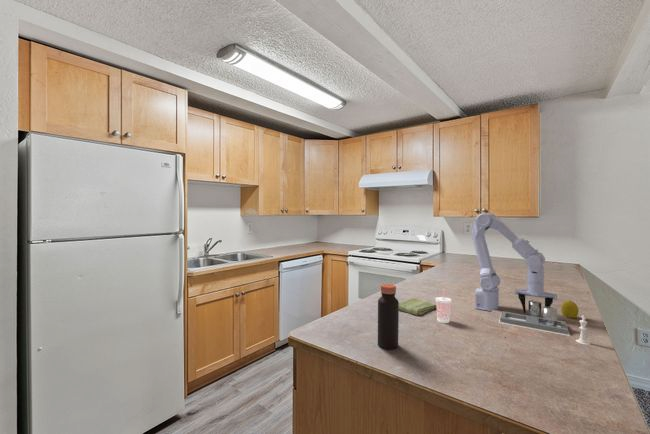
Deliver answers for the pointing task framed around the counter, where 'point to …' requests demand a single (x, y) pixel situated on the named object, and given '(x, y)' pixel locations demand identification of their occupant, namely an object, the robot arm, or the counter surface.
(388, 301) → the bottle
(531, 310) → the cylinder
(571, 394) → the counter surface
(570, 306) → the lemon
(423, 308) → the washcloth
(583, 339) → the chess piece
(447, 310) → the beverage cup
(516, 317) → the grey rectangular tray
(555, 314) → the cylinder
